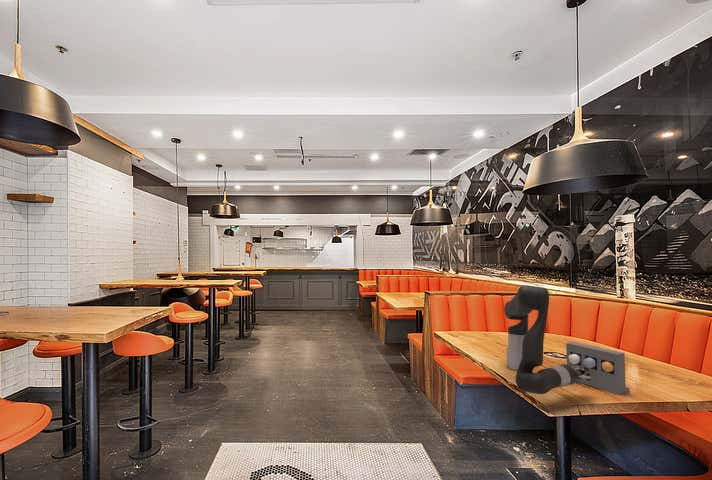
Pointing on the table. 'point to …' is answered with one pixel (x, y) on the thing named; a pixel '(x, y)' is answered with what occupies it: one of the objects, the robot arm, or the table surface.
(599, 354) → the button panel
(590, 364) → the slate button
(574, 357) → the offwhite button
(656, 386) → the table surface
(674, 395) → the table surface
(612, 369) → the orange button
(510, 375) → the table surface
